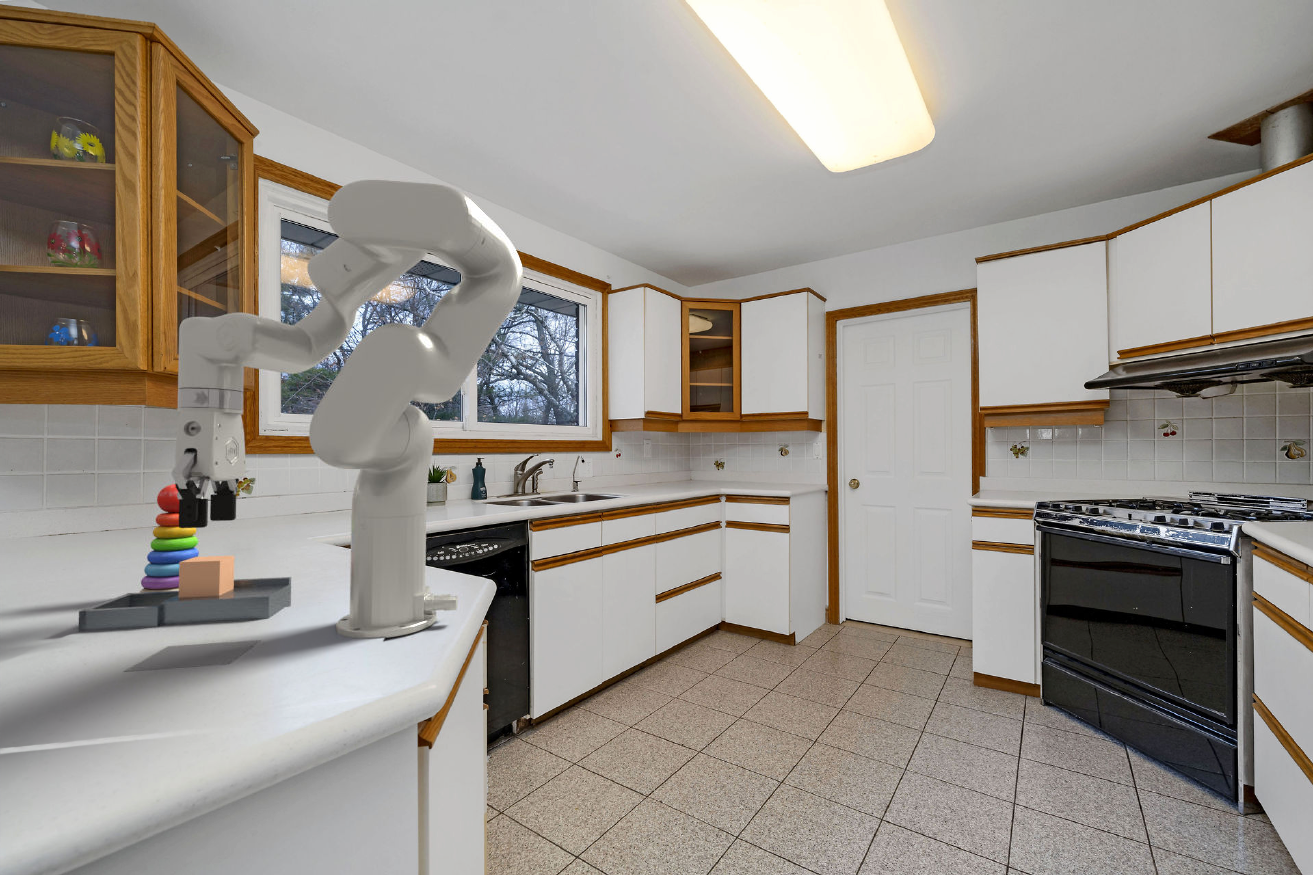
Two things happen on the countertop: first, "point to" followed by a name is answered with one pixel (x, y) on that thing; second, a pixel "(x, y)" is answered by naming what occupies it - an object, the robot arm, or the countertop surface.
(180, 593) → the tan cardboard box
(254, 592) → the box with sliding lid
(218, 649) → the mat
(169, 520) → the stacking toy
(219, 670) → the countertop surface
